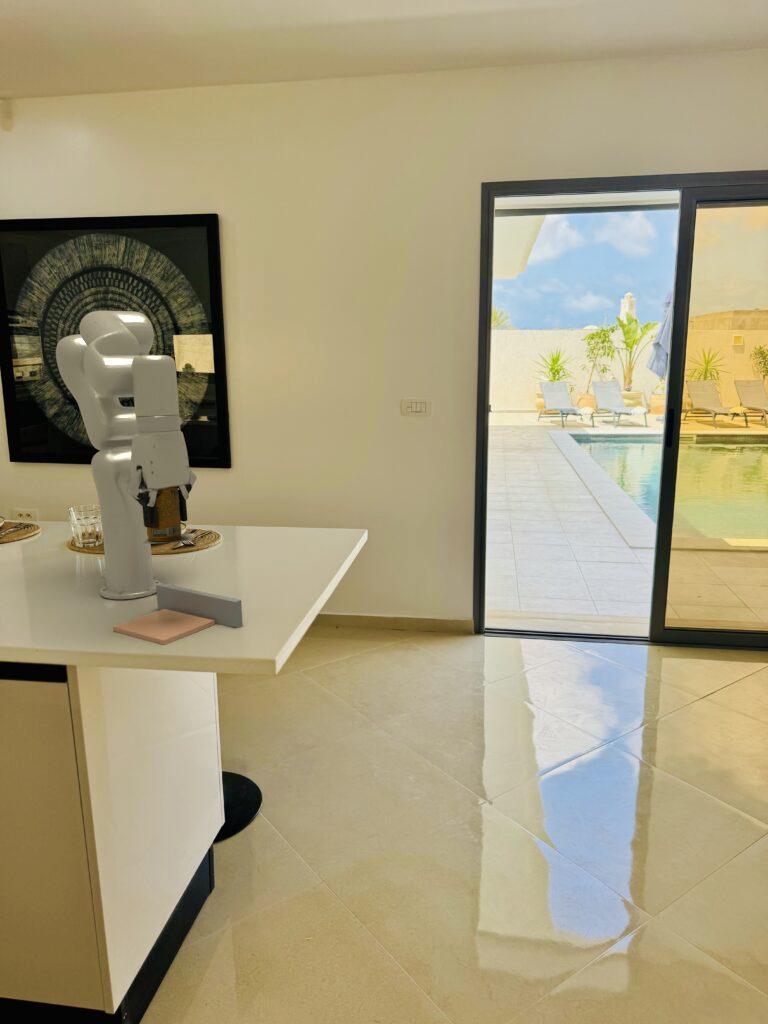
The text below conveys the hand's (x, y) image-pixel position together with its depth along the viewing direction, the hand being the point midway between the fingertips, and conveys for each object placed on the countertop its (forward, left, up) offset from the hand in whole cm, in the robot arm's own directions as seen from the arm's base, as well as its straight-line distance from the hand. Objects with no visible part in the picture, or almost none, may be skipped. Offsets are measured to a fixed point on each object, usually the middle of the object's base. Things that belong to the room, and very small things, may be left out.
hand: (166, 523), depth 132 cm
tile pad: (0, -2, -20) cm, 20 cm away
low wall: (+1, +5, -20) cm, 20 cm away
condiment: (0, 0, -3) cm, 3 cm away
